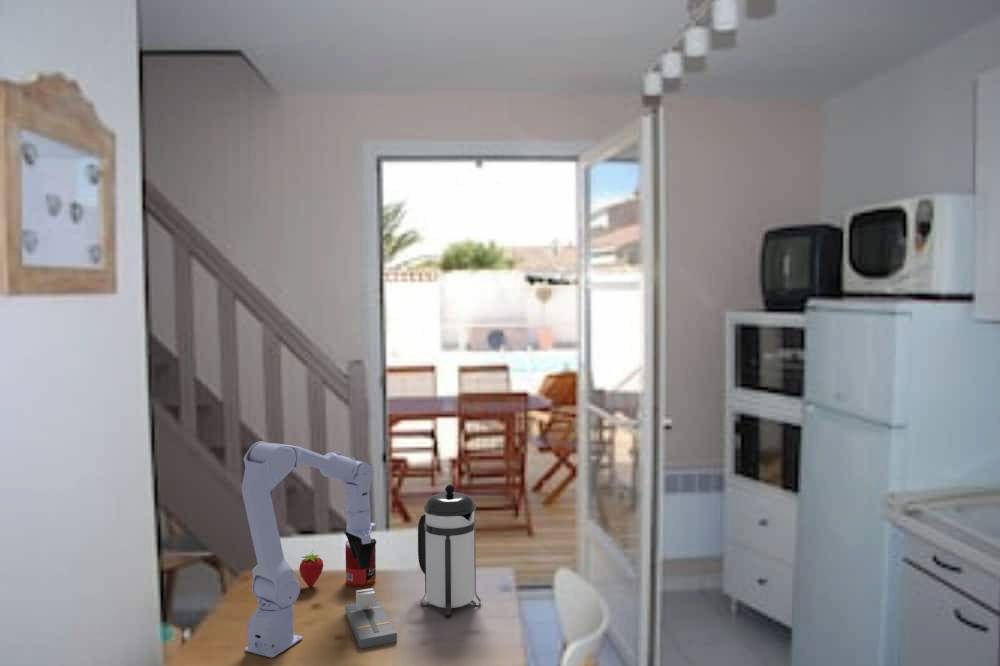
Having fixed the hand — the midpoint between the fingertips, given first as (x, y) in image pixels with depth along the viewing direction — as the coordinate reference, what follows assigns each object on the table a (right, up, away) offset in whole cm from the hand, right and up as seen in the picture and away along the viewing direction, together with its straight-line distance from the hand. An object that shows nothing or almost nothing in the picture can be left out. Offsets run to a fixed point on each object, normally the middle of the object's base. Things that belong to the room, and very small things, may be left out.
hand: (361, 562), depth 167 cm
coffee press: (+21, -11, 0) cm, 24 cm away
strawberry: (-16, -11, +12) cm, 22 cm away
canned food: (-3, -11, +15) cm, 19 cm away
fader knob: (+3, -8, -7) cm, 11 cm away
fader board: (+5, -11, -12) cm, 17 cm away
